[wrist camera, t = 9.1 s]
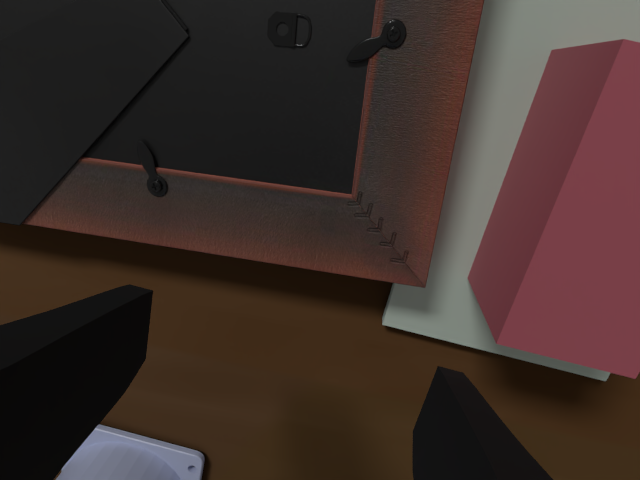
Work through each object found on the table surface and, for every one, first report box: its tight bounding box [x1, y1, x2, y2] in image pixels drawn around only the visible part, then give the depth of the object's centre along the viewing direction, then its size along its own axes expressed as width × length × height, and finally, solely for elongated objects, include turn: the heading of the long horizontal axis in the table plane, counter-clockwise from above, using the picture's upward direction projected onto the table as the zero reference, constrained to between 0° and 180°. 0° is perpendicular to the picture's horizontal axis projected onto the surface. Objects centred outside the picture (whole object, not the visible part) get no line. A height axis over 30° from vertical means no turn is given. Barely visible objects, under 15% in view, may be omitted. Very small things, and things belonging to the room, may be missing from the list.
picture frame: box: [0, 0, 484, 288], centre depth 16 cm, size 16×2×22 cm
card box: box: [468, 39, 640, 379], centre depth 15 cm, size 9×4×5 cm, turn 167°
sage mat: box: [382, 0, 640, 381], centre depth 18 cm, size 15×10×1 cm, turn 167°
